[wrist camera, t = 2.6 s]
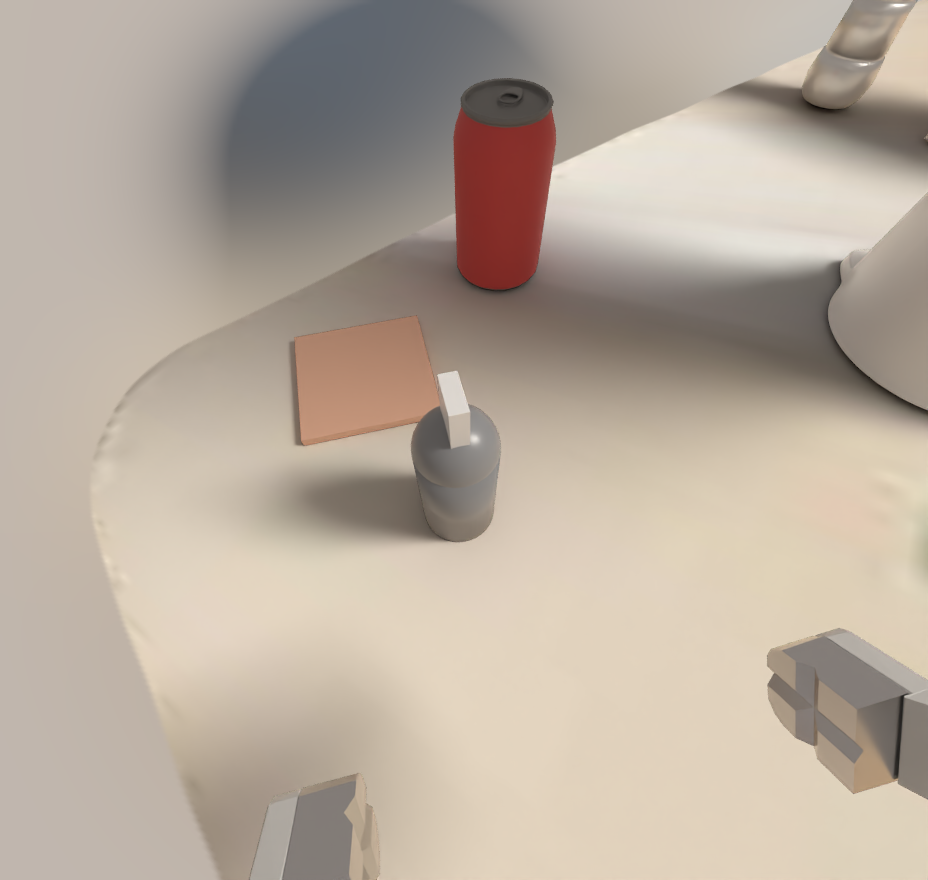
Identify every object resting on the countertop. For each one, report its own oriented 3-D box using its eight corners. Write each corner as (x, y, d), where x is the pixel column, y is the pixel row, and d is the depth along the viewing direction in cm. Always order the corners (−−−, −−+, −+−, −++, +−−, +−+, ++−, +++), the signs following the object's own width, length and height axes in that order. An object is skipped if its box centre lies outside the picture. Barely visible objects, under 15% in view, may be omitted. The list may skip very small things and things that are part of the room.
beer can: (547, 254, 38) (576, 84, 28) (519, 304, 35) (540, 133, 25) (476, 235, 39) (478, 67, 29) (443, 281, 36) (433, 111, 26)
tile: (417, 321, 34) (416, 315, 33) (443, 416, 29) (442, 411, 29) (297, 343, 33) (294, 337, 32) (304, 445, 28) (301, 440, 28)
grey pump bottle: (483, 471, 27) (490, 344, 18) (502, 532, 25) (521, 425, 16) (418, 485, 27) (391, 363, 17) (432, 549, 25) (409, 449, 15)
